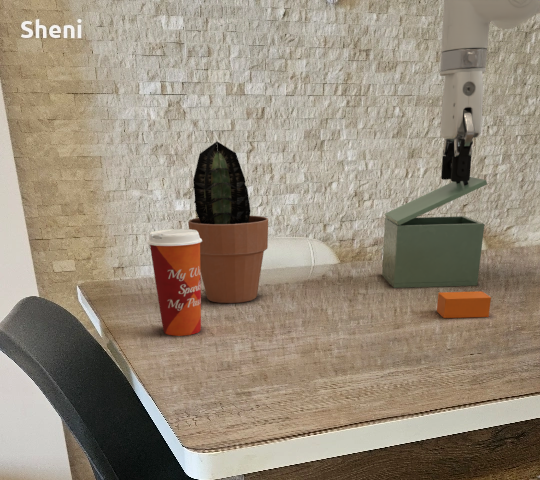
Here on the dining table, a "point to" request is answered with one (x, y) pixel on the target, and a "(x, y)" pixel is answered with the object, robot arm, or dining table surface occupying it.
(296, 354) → the dining table surface
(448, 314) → the block
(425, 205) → the bin lid
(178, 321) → the paper cup
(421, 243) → the waste bin
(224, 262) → the potted plant
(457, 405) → the dining table surface
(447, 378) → the dining table surface
